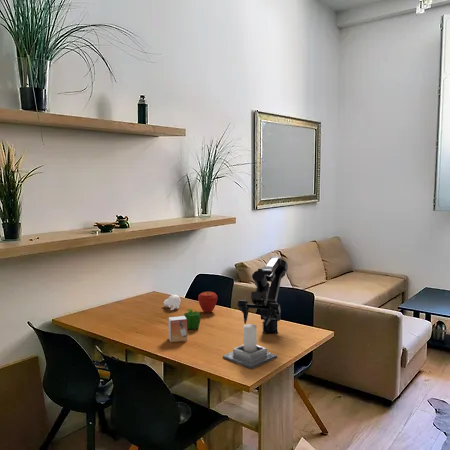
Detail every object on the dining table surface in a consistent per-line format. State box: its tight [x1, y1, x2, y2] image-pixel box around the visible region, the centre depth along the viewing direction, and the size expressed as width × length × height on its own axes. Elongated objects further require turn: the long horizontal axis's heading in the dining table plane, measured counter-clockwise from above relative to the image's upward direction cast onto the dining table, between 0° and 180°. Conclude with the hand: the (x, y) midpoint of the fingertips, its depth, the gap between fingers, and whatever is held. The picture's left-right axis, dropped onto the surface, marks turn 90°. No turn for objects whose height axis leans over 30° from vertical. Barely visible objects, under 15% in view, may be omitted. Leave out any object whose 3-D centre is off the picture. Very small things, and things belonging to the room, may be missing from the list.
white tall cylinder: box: [242, 323, 258, 354], centre depth 182 cm, size 6×6×12 cm
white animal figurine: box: [163, 294, 182, 311], centre depth 255 cm, size 6×8×12 cm
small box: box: [168, 315, 188, 343], centre depth 204 cm, size 8×6×10 cm
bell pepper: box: [183, 308, 202, 330], centre depth 221 cm, size 8×8×10 cm
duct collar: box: [222, 344, 278, 370], centre depth 183 cm, size 16×16×4 cm
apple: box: [197, 291, 218, 314], centre depth 247 cm, size 11×11×12 cm
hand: (255, 324), depth 189 cm, fingers open, 9 cm apart
